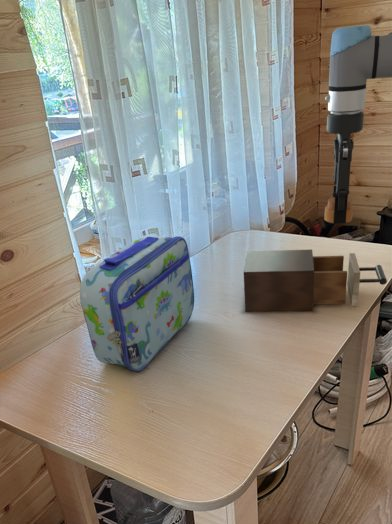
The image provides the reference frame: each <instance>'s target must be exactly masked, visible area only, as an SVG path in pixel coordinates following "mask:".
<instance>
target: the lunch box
mask: <svg viewBox="0 0 392 524" xmlns="http://www.w3.org/2000/svg"><path fill="white" fill-rule="evenodd" d="M193 278H194V277H193V270H192V263H191V258H190V252H189V246H188V243H187V241H186V239H185V238H184V237H183V236H179V235H178V236H176V235H175V236H174V237H171V236H163V235H157V234H145V235H142V236H141V237H138V238H136V239H135V240H133V241H131V242H129V243H128V244H126V245H125V246H123V247H122V248H120V249H119V250H117V251H115V252H114V253H113V254H111V255H110V256H108V257H106V258H103V260H102V261H101V262H99V263H98V264H97V265H94V266H93V267H91V268H90V269H88V271H87V272H86V273H85V274H84V276H83V277H82V280H81V282H80V285H79V298H80V304H81V308H82V313H83V317H84V320H85V325H86V327H87V331H88V335H89V340H90V343H91V348H92V350H93V353H94V355H95V358H96V359H97V360H98V361H99V362H100V363H104V364H113V365H118V366H122V367H125V368H126V369H128V370H129V371H135V372H140V371H143V370H144V369H145V368H146V367H148V365H149V364H150V362H152V360H153V359H154V358H155V357H156V356H157V355H158V354H159V353H160V352H161V350H162V349H163V348H164V347H166V345H167V344H168V343H169V342H170V341H171V339H172V338H173V337H174V336H175V335H176V334H177V333H178V332H179V331H180V330H181V329H182V328H184V327H185V326H186V324H188V323H189V321H190V320H191V318H192V314H193V312H194V307H195V289H194V280H193Z"/></svg>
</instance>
